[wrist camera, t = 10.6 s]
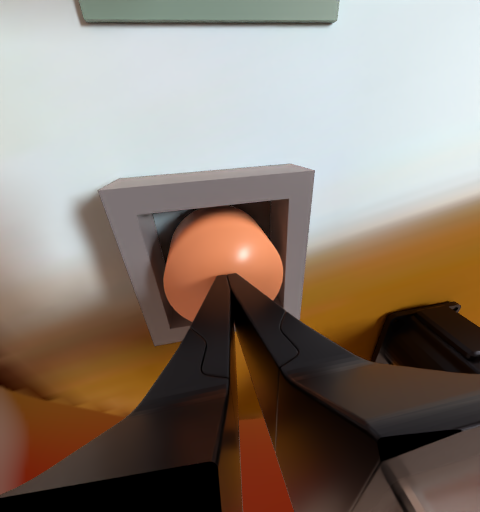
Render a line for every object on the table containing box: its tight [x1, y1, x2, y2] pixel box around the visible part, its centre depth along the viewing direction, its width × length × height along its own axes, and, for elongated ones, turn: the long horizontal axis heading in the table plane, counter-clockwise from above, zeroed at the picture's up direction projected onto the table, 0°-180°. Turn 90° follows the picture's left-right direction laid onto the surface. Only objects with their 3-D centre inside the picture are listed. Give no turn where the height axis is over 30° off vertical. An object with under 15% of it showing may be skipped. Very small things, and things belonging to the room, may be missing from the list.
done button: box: [163, 205, 283, 322], centre depth 11 cm, size 5×5×3 cm
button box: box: [98, 164, 315, 346], centre depth 11 cm, size 8×8×2 cm
